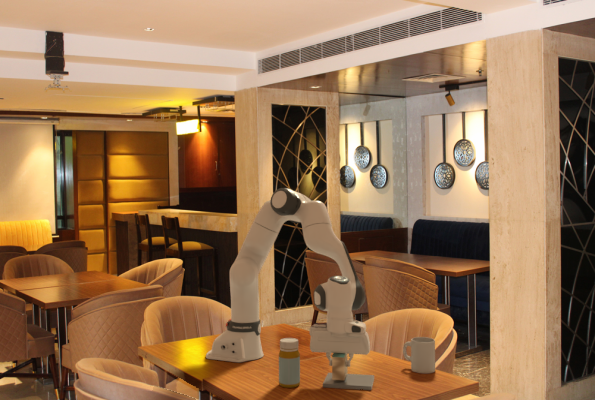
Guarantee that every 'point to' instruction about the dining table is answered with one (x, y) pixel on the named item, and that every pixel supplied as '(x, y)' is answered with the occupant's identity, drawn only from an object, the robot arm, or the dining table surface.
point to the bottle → (289, 363)
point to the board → (350, 382)
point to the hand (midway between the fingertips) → (339, 365)
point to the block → (339, 366)
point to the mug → (421, 354)
